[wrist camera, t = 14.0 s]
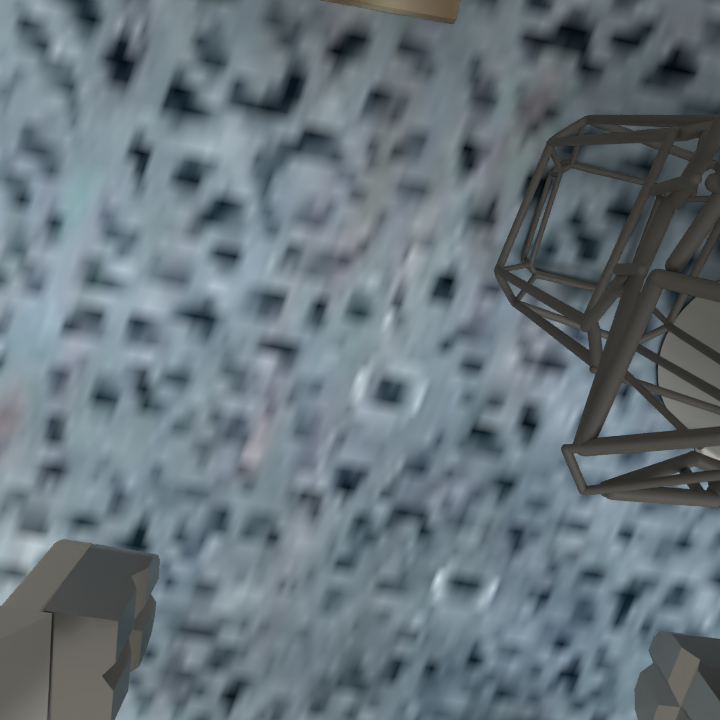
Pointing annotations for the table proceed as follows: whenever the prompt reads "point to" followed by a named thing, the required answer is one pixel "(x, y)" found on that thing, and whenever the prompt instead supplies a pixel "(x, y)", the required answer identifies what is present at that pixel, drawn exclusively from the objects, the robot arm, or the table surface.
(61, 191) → the table surface
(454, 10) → the square wooden tray
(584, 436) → the geometric lantern
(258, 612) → the table surface
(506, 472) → the table surface
